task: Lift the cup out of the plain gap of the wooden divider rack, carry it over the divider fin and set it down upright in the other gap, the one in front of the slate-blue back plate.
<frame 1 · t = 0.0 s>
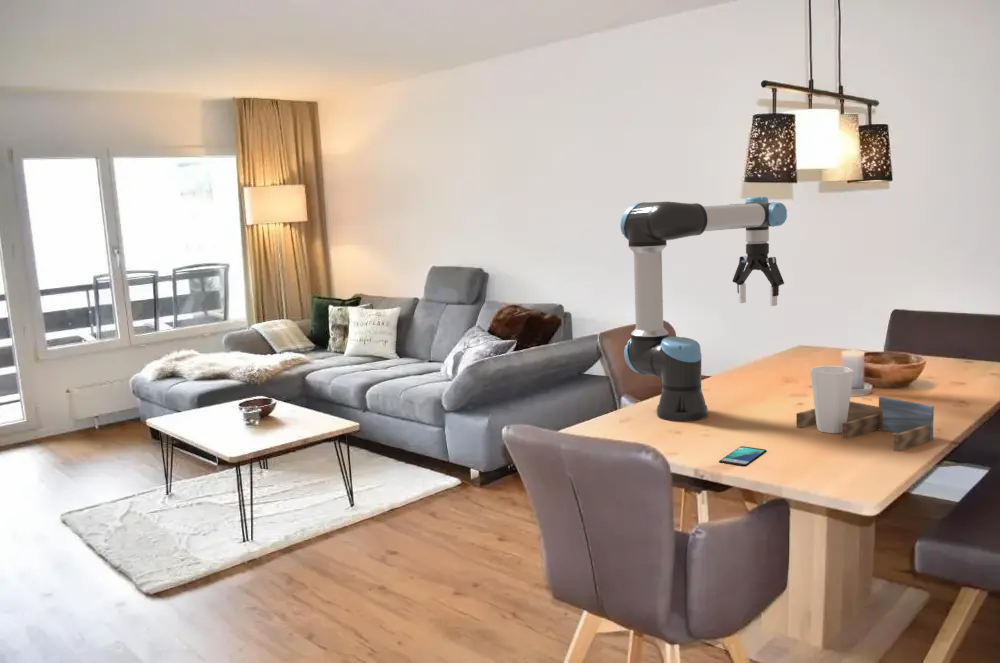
hand: (757, 304, 284), 28 cm above the table, fingers open, 13 cm apart
wooden divider rack: (861, 433, 223), on the table
cup: (831, 430, 227), on the table
smartphone: (743, 458, 208), on the table
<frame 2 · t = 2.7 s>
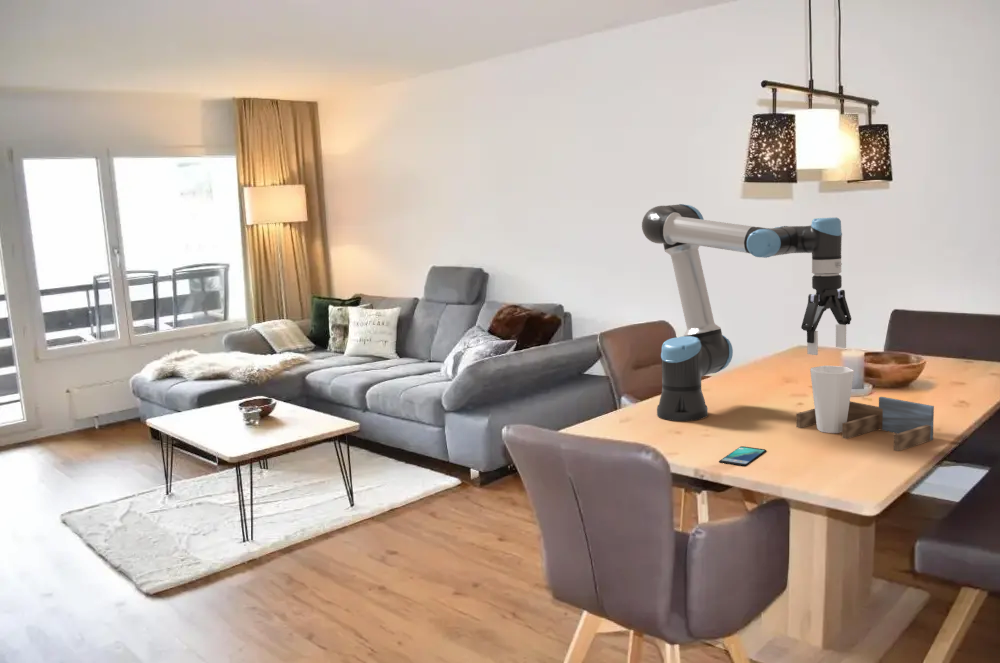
hand: (827, 351, 228), 21 cm above the table, fingers open, 13 cm apart
nothing on the table moved.
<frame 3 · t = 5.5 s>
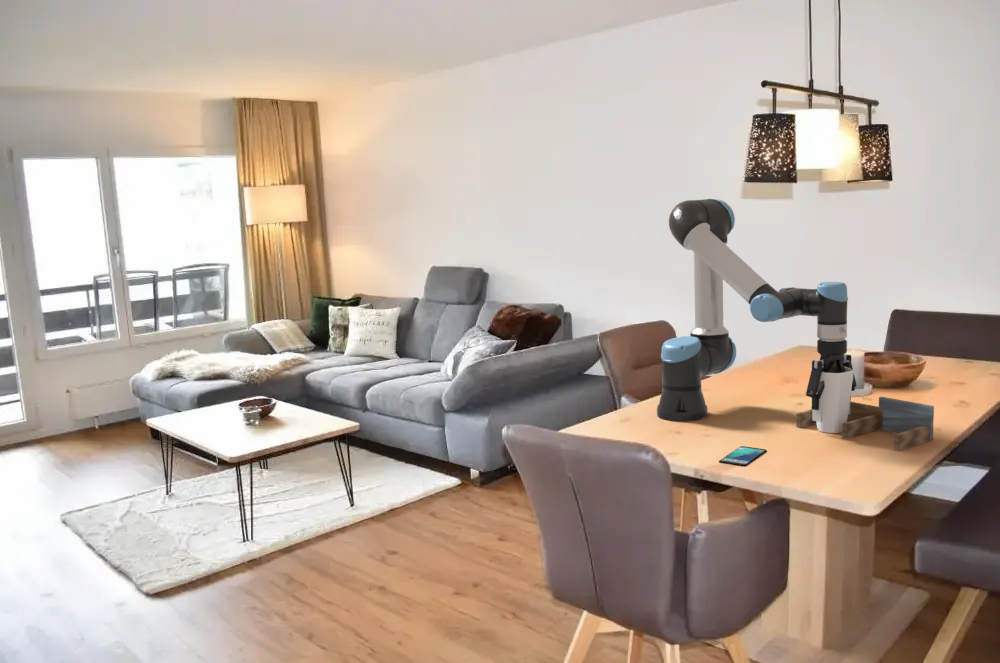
hand: (831, 417, 227), 4 cm above the table, fingers closed on cup, 11 cm apart
cup: (831, 430, 227), on the table, touching gripper
everything else where it was.
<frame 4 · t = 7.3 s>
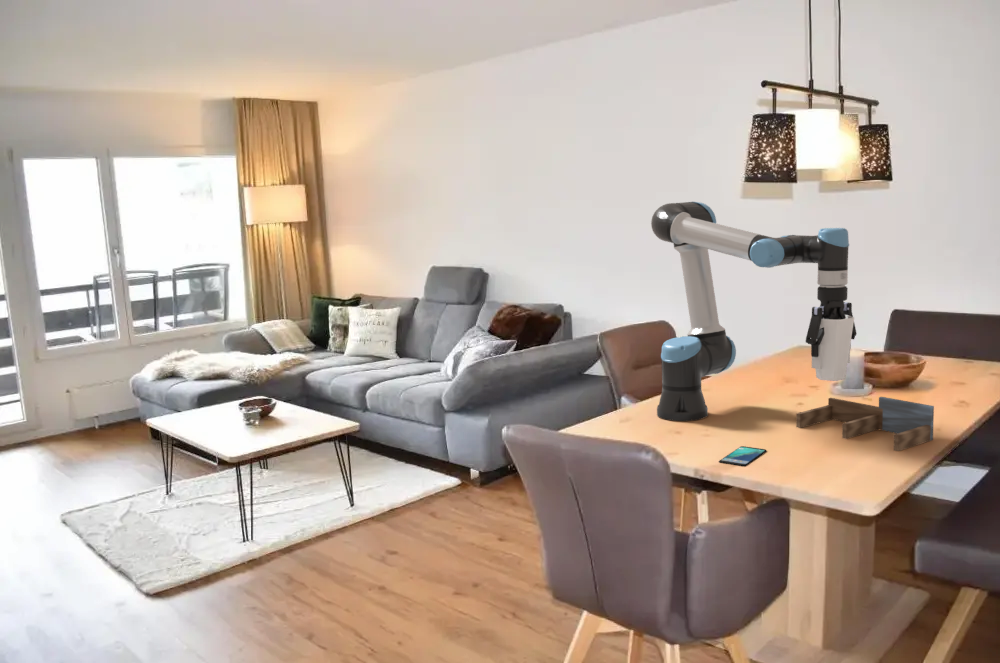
hand: (830, 365, 225), 18 cm above the table, fingers closed on cup, 11 cm apart
cup: (830, 379, 225), point 14 cm above the table, touching gripper
everything else where it was.
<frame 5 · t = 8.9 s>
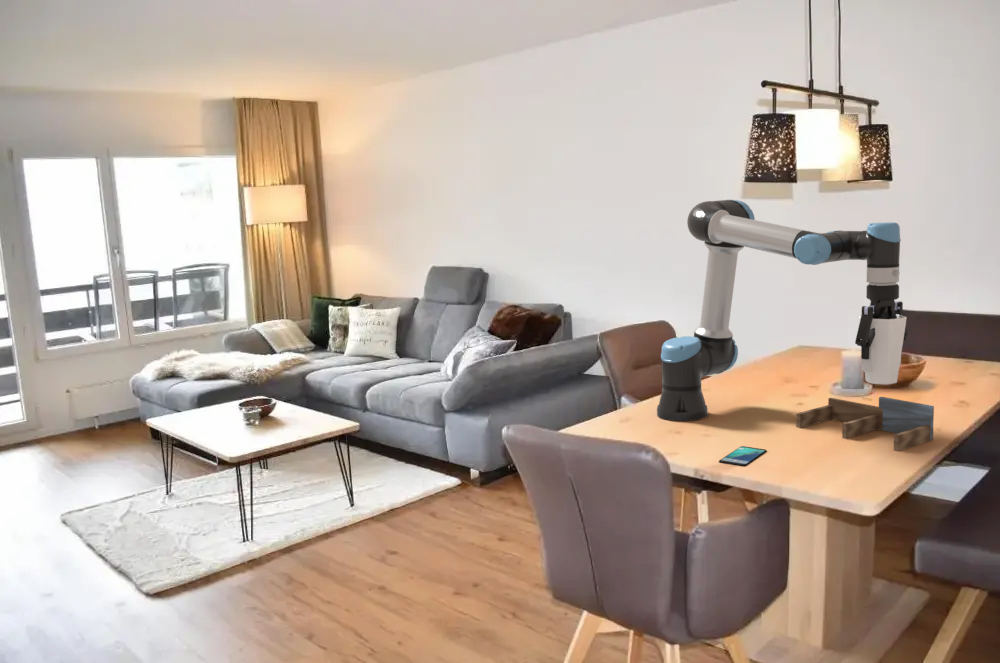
hand: (881, 368, 212), 19 cm above the table, fingers closed on cup, 11 cm apart
cup: (881, 382, 213), point 16 cm above the table, touching gripper
everything else where it was.
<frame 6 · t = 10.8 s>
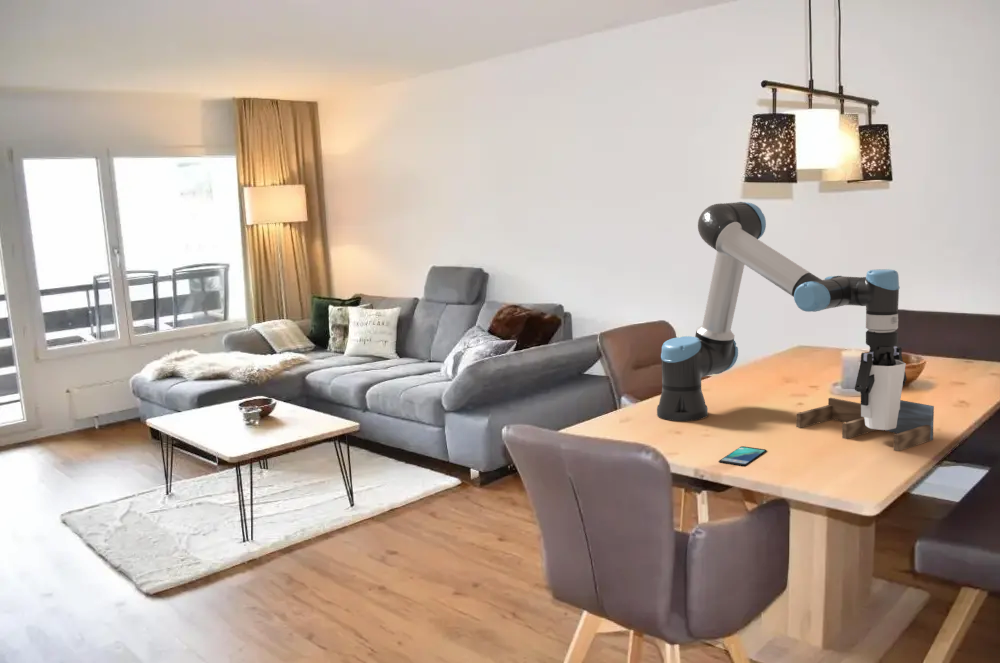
hand: (880, 413, 214), 7 cm above the table, fingers closed on cup, 11 cm apart
cup: (880, 427, 214), point 4 cm above the table, touching gripper
everything else where it was.
when the fingers open (5 cm above the table, at t = 12.3 s): cup drops 2 cm, on the table.
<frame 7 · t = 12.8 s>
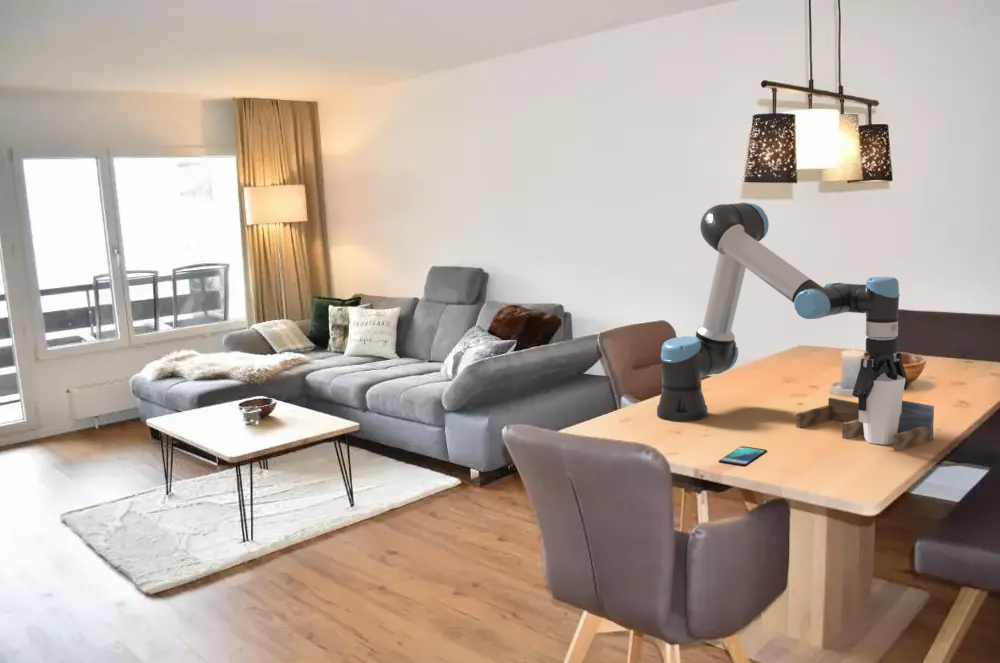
hand: (880, 418, 214), 6 cm above the table, fingers open, 13 cm apart
cup: (880, 441, 215), on the table
everything else where it was.
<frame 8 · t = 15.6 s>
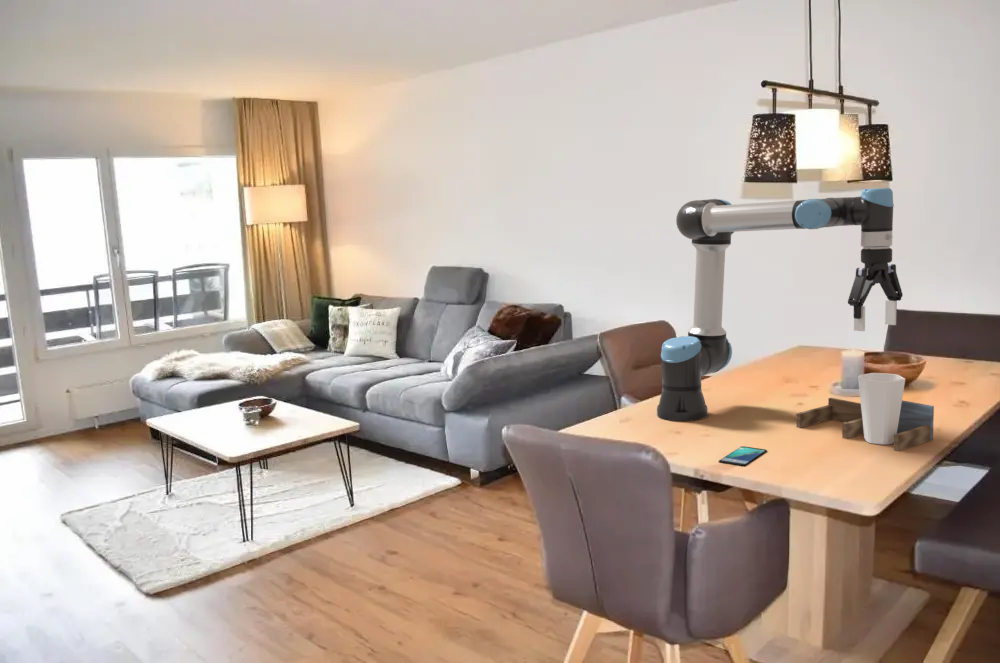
hand: (875, 327, 219), 29 cm above the table, fingers open, 13 cm apart
nothing on the table moved.
at the end: cup inside the target area (0.5 cm from its centre), on the table; cup tilted 0°; the gripper is holding nothing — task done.
